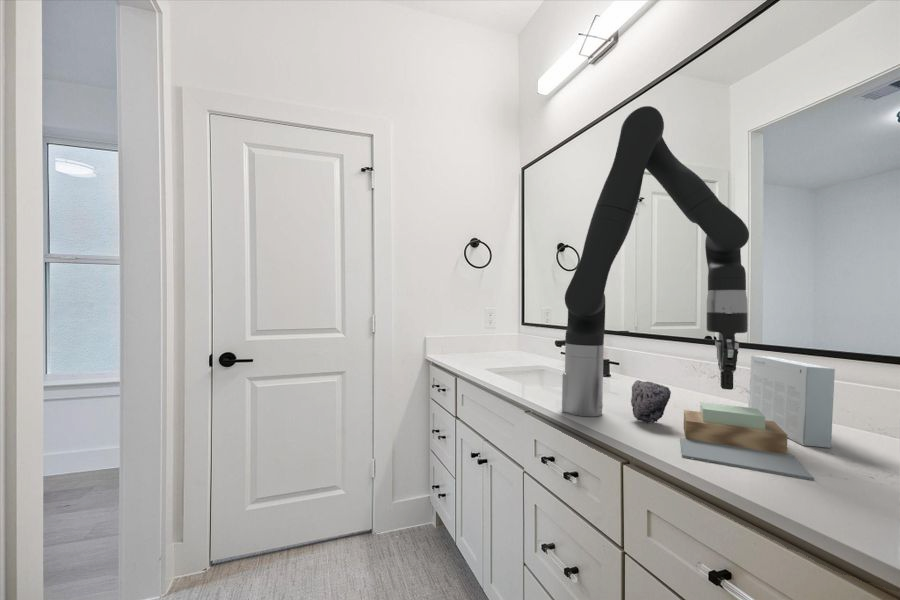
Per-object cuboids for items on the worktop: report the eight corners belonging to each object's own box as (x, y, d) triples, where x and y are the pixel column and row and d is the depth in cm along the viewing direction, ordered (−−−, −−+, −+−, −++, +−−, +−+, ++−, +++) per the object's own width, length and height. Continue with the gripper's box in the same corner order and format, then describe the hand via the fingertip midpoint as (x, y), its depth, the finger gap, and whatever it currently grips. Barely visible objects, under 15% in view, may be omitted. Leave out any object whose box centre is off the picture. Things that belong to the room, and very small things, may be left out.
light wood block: (685, 440, 80) (686, 420, 80) (683, 427, 89) (683, 409, 89) (787, 456, 73) (787, 434, 73) (773, 440, 82) (774, 421, 82)
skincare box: (835, 449, 78) (836, 368, 78) (803, 446, 79) (804, 366, 79) (771, 419, 98) (772, 355, 98) (746, 417, 99) (747, 354, 100)
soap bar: (702, 421, 80) (703, 408, 80) (700, 413, 87) (700, 401, 87) (765, 429, 76) (765, 416, 76) (757, 420, 82) (757, 408, 82)
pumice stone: (673, 431, 87) (674, 385, 87) (635, 427, 89) (635, 382, 89) (661, 418, 97) (662, 377, 97) (627, 415, 99) (627, 375, 99)
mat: (682, 457, 71) (682, 454, 71) (680, 439, 81) (680, 437, 81) (814, 480, 63) (814, 477, 63) (794, 457, 72) (794, 455, 72)
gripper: (704, 310, 96) (704, 382, 96) (709, 310, 85) (709, 392, 84) (742, 311, 93) (742, 385, 93) (753, 311, 81) (753, 396, 81)
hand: (726, 388), depth 88 cm, fingers closed
